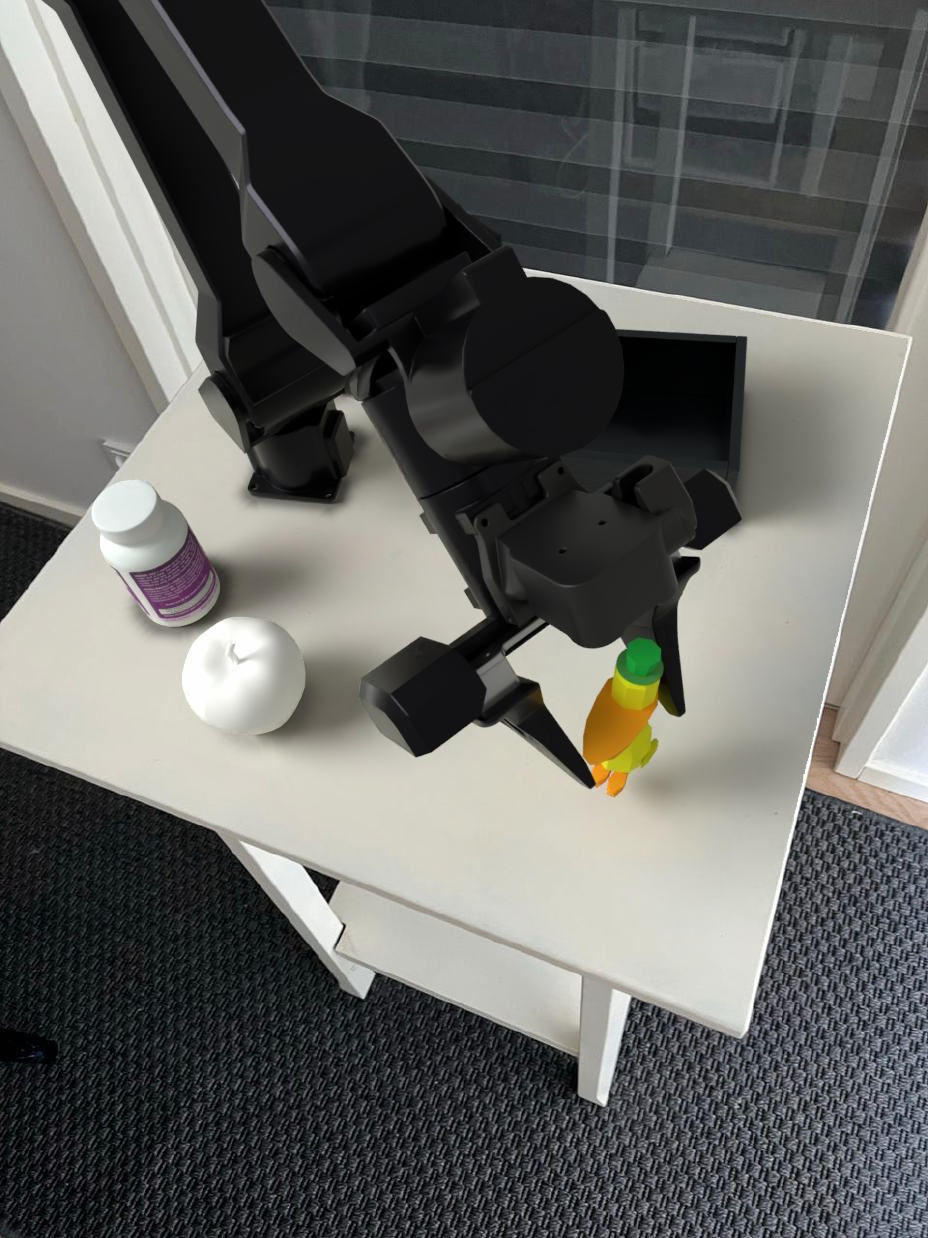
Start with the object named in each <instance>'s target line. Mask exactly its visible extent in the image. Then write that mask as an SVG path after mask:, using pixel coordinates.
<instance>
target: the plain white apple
mask: <svg viewBox="0 0 928 1238" xmlns="http://www.w3.org/2000/svg"><path fill="white" fill-rule="evenodd" d="M181 674H182V676H181V677H182V679H181V680H182V681H181V684H182V689H183V693H184V696H185V699H186V701H187V703H188V704H189V707H190V708H191V710H192V711H193V713H194V714H196V716H197V717H198V718H199V719H200V720H201V721H203V722H204V723H206V724H208V725H209V726H211V727H212V728H215V729H217V730H220V731H223V732H225V733H229V734H234V735H242V736H243V735H245V736H255V735H256V736H257V735H262V734H266V733H270V732H274V731H276V730H277V729H279V728H281V727H282V726H283V725H285V724H286V723H287V722H288V720H289V719H290V718H291V717H292V716H293V714H294V712H295V711H296V709H297V707H298V705H299V703H300V701H301V699H302V696H303V693H304V690H305V688H306V666H305V661H304V657H303V654H302V651H301V649H300V647H299V645H298V644H297V642H296V639H294V637H293V636H292V635H291V634H290V633H289V632H288V631H287V630H286V629H285V628H284V627H283V626H281V625H280V624H278V623H277V622H275V621H272V620H269V619H266V618H261V617H254V616H253V617H252V616H233V617H227V618H224V619H222V620H220V621H217V622H216V623H215V624H214V625H212V626H211V627H210V628H208V629H207V630H205V631H204V632H202V633H201V634H200V635H199V636H198V637H197V638H196V639H195V640H194V641H193V643H192V645H191V646H190V649H189V650H188V653H187V656H186V658H185V662H184V665H183V669H182V673H181Z"/></svg>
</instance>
